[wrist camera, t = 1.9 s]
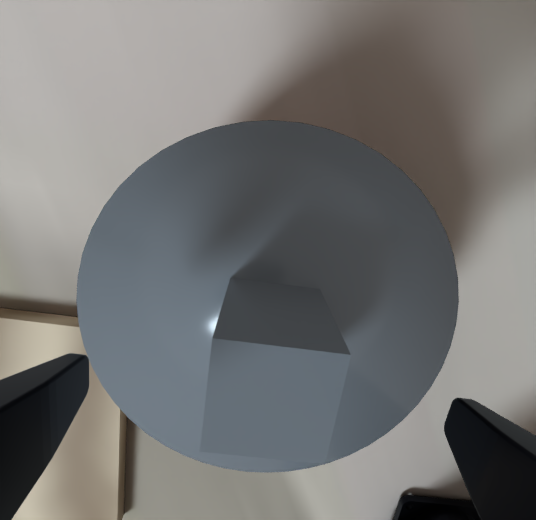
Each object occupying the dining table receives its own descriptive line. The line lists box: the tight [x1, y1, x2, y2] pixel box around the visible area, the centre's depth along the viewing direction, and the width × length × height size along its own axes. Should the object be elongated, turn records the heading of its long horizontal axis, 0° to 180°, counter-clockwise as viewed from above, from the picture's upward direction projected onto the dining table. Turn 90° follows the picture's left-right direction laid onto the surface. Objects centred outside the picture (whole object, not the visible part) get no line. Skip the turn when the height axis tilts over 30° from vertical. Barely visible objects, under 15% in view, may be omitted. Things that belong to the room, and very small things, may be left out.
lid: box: [77, 120, 459, 472], centre depth 10 cm, size 13×13×5 cm
